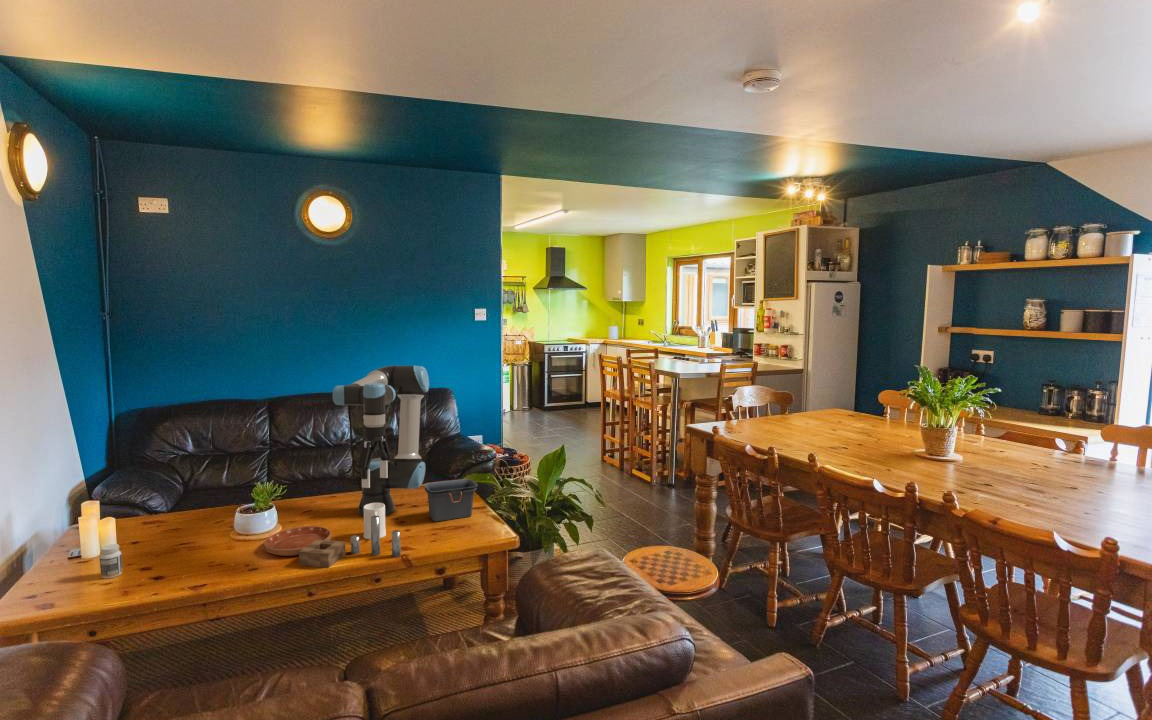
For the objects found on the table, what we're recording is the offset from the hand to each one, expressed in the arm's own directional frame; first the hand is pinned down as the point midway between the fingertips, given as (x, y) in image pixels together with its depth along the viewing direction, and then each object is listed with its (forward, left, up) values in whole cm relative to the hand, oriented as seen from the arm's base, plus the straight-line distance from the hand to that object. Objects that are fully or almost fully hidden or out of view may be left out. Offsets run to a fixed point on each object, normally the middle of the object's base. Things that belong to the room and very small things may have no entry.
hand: (375, 482), depth 220 cm
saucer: (+2, -30, -26) cm, 40 cm away
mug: (-11, -6, -26) cm, 29 cm away
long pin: (+4, +2, -26) cm, 26 cm away
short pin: (+4, -6, -26) cm, 27 cm away
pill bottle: (+35, -76, -26) cm, 88 cm away
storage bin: (-37, +16, -26) cm, 48 cm away
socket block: (+12, -14, -26) cm, 32 cm away
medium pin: (+4, +10, -26) cm, 28 cm away
